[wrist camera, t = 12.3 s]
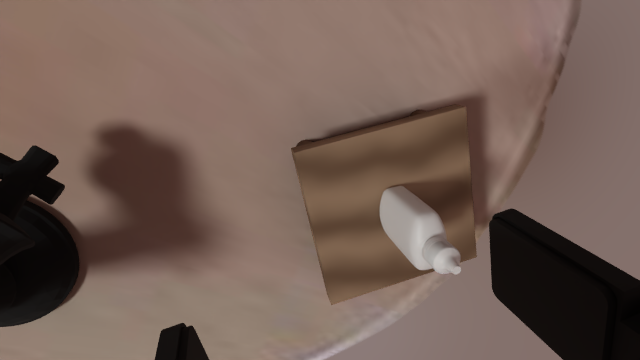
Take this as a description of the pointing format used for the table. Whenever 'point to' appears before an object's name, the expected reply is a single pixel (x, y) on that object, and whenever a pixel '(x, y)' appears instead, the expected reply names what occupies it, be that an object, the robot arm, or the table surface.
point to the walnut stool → (368, 186)
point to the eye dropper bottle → (417, 231)
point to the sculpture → (32, 241)
